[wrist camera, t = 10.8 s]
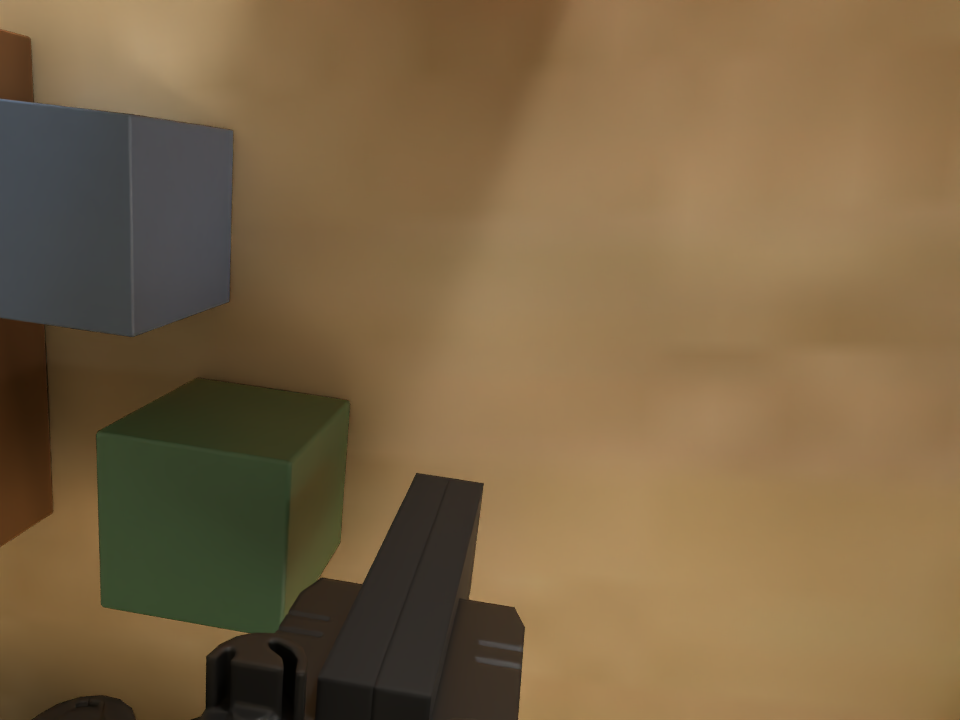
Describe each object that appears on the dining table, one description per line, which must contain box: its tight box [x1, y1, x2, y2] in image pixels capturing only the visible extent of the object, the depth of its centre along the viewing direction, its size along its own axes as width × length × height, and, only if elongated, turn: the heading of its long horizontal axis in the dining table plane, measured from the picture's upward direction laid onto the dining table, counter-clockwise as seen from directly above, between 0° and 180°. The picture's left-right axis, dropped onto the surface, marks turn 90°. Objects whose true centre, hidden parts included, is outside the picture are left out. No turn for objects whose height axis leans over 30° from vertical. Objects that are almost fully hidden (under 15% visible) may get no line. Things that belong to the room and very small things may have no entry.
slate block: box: [0, 99, 233, 337], centre depth 15 cm, size 4×4×4 cm
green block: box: [96, 378, 350, 633], centre depth 16 cm, size 4×4×4 cm
